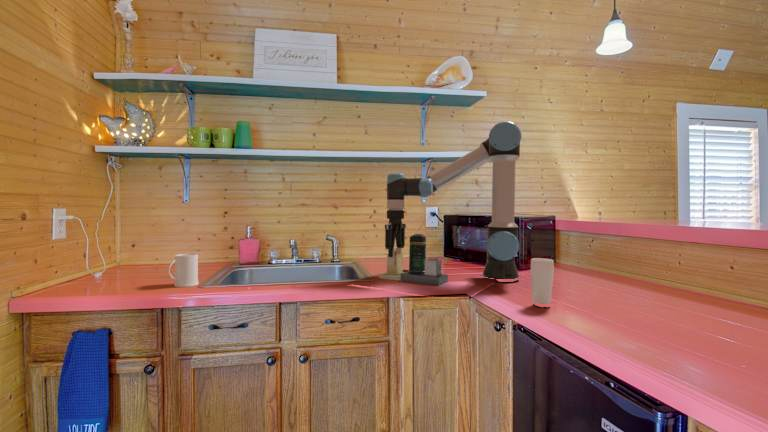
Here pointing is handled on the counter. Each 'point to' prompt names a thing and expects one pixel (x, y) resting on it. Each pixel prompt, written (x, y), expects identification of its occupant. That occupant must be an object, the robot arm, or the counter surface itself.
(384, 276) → the tray
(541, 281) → the drinking glass
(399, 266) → the tan rectangular block
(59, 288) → the counter surface
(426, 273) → the steel plug
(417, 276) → the dark grey flat block
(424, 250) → the coffee jar
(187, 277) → the mug
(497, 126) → the robot arm
